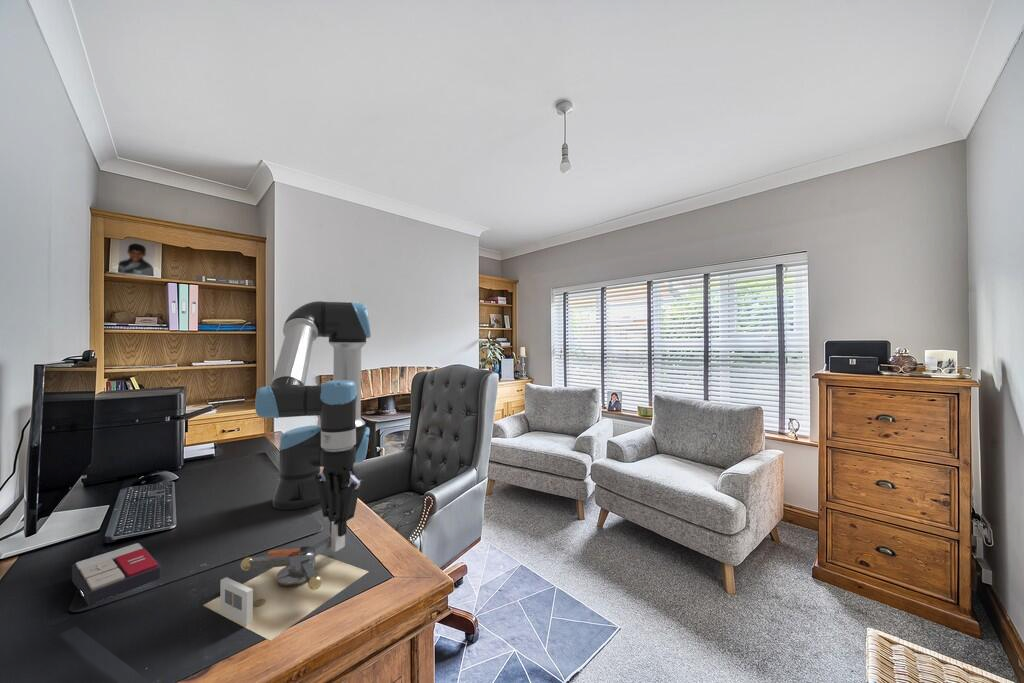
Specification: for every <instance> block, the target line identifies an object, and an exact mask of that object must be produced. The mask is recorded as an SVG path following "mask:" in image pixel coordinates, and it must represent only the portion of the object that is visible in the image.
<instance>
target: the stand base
mask: <svg viewBox="0 0 1024 683" xmlns="http://www.w3.org/2000/svg"><path fill="white" fill-rule="evenodd" d="M284 567H286V566H283V567H272V568H269V569H268V570H266V571H264V572H263V573H260V574H259V575H257V576H255V577H254V578H251V579H249V580H247V581H246V582H244V583H242V584H243V585H245V586H247V587H249V588H252V589H253V622H252V623H251V624H249V625H248V626H246V625H244V624H242V623H240V622H238V621H236V620H234V619H232V618H230V617H228V616H226V615H225V614H223V613H221V612H220V596H217V597H216V598H214V599H212V600H210V601H208V602H207V603H205V604H203V607H205V608H207V609H209V610H211V611H213V612H214V613H216V614H219V615H220V616H222V617H225V618H226V619H228V620H230V621H231V622H234V623H236V624H238V625H240V626H241V627H243V628H245V629H247V630H249V631H250V632H252V633H255V634H257V635H259V636H260V637H263V638H264V639H266V640H268V641H270V642H271V641H272V640H274V639H275V638H277V637H278V636H279V635H282V633H284V632H286V630H288V629H289V628H291V627H292V626H294V625H296V624H297V623H298V622H299V621H301V620H302V619H304V618H305V617H306V616H308V615H309V614H311V613H312V612H313V611H315V610H317V609H318V608H319V607H321V606H322V605H324V604H325V603H327V602H328V601H329V600H331V599H332V598H334V597H335V596H337V595H338V594H339V593H341V592H342V591H344V590H346V588H348V587H349V586H351V585H352V584H353V583H355V582H356V581H358V580H359V579H360V578H362V577H364V575H366V574H368V573H369V572H370V571H368V570H366V569H362V568H360V567H357V566H354V565H352V564H348V563H346V562H343V561H340V560H338V559H335V558H331V557H330V556H329V557H328V556H327V555H324V554H322V553H321V554H319V555H318V556H316V557H315V570H316V571H317V573H318V575H319V576H320V577H321V578H322V584H321V586H320V587H319V588H318V589H316V590H311V589H310V588H309V586H308V582H307V581H305V582H303V583H301V584H298V585H294V586H281V585H279V584H278V583H277V574H278V572H279V571H280V570H281V569H283V568H284Z"/></svg>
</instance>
